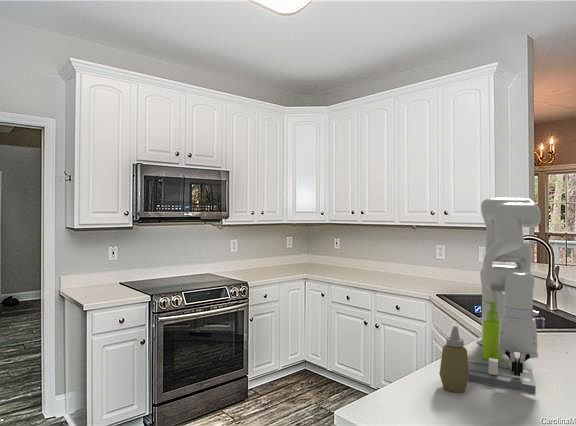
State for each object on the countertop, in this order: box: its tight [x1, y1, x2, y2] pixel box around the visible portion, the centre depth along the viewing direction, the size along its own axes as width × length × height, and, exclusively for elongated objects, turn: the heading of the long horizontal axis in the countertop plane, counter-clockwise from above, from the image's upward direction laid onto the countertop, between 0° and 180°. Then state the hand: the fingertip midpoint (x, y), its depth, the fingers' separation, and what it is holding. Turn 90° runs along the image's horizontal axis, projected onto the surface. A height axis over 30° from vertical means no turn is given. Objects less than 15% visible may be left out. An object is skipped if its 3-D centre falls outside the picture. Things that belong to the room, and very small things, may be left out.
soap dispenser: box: [482, 301, 502, 362], centre depth 151 cm, size 6×7×20 cm
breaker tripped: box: [488, 358, 499, 375], centre depth 129 cm, size 3×2×4 cm
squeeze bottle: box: [439, 325, 470, 393], centre depth 122 cm, size 8×8×18 cm
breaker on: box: [509, 354, 520, 369], centre depth 133 cm, size 3×2×4 cm
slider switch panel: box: [468, 358, 537, 394], centre depth 132 cm, size 16×22×2 cm
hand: (517, 374), depth 126 cm, fingers closed
